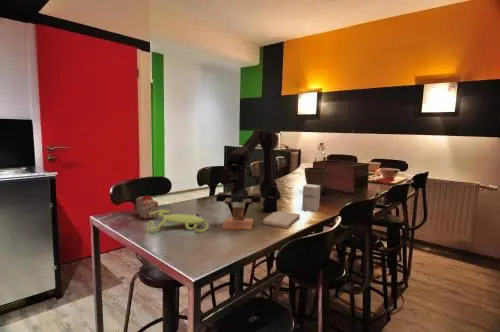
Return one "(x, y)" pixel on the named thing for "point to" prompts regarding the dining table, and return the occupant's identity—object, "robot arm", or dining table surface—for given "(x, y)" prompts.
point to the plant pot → (316, 176)
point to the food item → (146, 207)
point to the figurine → (178, 220)
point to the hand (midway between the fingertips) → (238, 216)
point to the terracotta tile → (238, 224)
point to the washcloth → (281, 219)
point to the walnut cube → (238, 214)
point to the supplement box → (311, 197)
